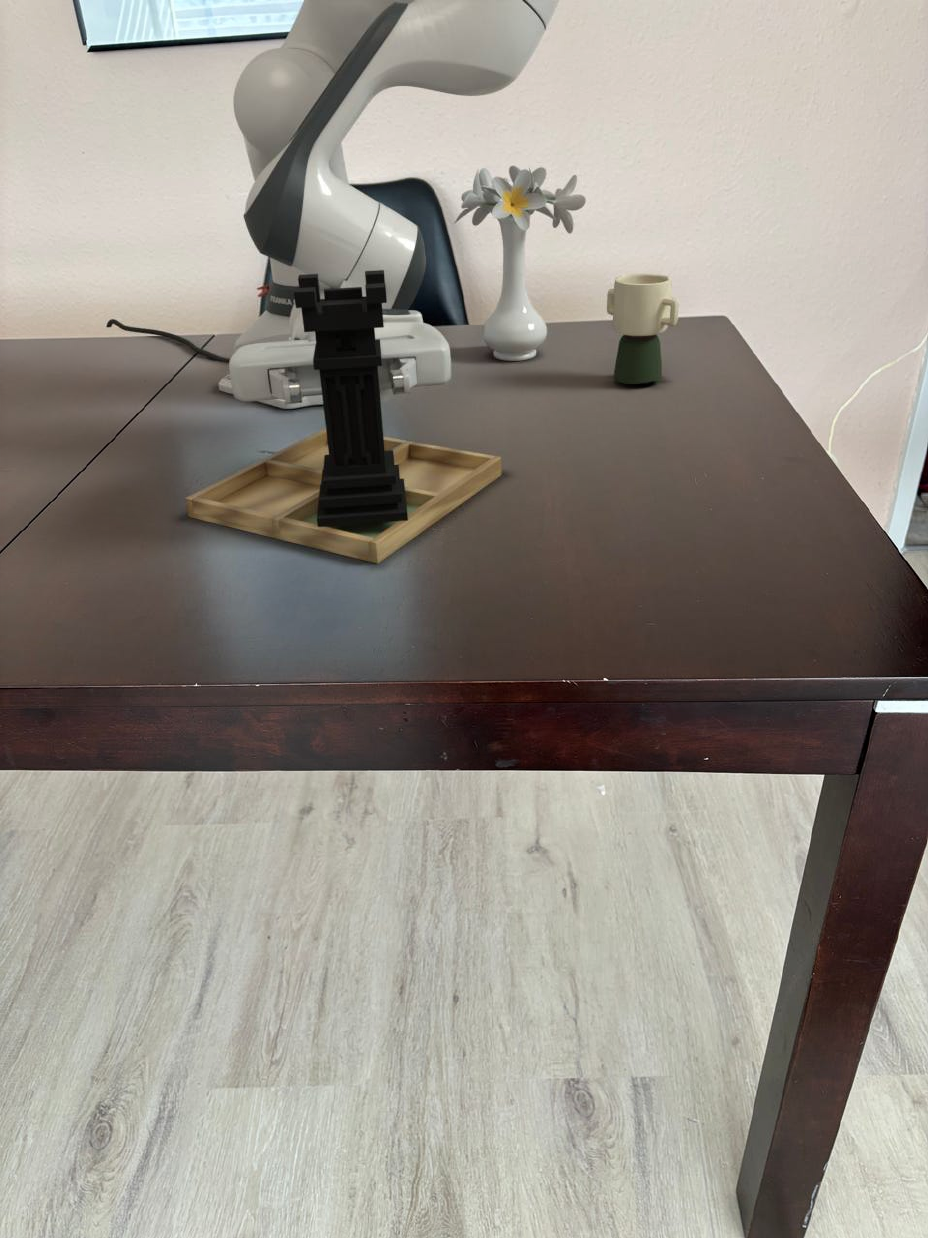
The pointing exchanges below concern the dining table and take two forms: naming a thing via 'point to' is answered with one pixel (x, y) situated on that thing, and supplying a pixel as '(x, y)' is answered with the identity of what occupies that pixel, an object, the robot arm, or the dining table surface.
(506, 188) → the flower vase
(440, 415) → the dining table surface
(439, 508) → the grid
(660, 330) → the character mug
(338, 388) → the chess piece
